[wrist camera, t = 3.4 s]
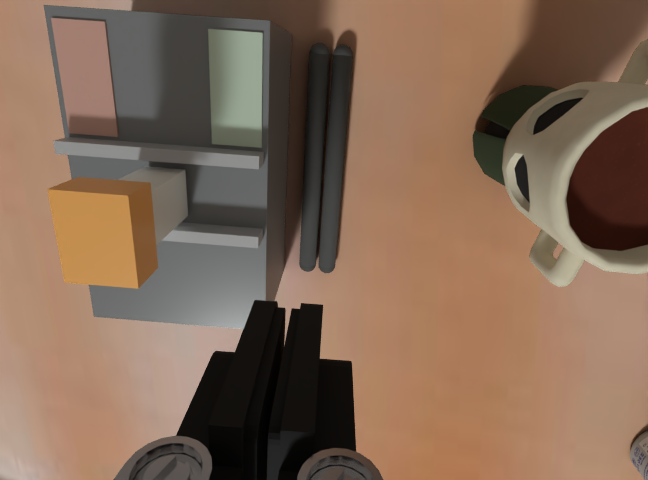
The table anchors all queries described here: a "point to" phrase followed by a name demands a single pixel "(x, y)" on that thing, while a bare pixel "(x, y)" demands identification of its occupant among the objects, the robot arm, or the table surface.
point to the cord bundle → (333, 154)
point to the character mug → (576, 169)
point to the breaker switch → (116, 224)
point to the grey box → (184, 147)
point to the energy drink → (640, 454)
